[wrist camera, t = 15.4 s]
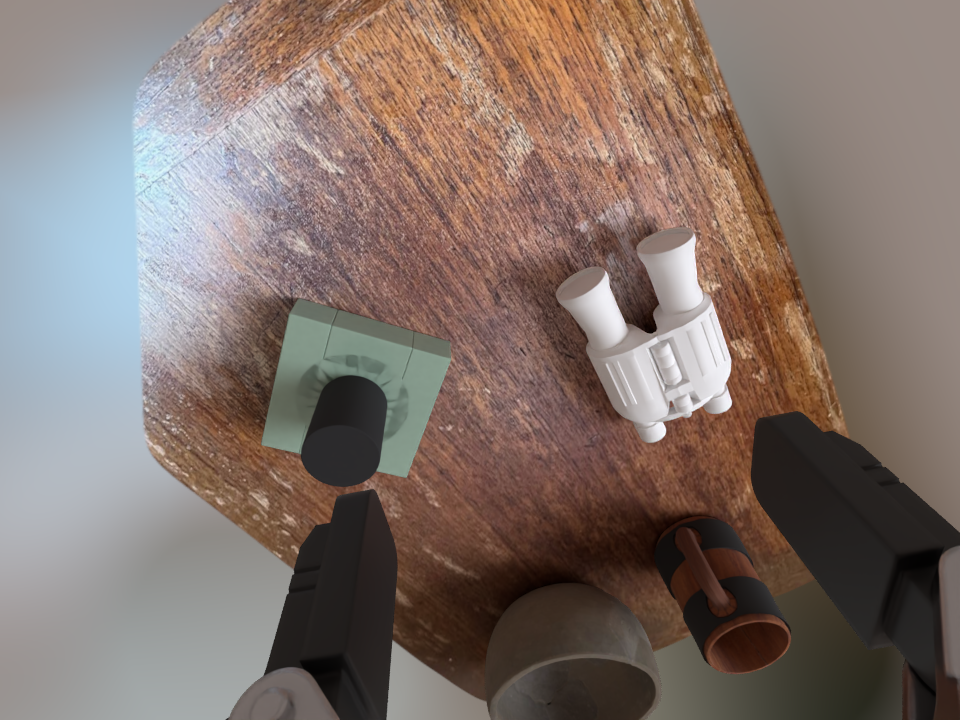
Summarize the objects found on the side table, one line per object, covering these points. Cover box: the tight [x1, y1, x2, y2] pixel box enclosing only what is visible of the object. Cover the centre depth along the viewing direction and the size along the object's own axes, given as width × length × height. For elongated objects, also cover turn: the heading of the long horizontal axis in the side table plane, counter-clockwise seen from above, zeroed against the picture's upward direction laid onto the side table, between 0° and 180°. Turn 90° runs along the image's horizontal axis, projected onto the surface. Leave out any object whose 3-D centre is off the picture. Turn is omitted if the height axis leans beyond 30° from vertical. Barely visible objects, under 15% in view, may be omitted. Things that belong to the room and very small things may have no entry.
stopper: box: [301, 375, 388, 487], centre depth 40 cm, size 5×5×9 cm
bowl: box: [485, 583, 662, 720], centre depth 56 cm, size 17×18×10 cm
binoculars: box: [556, 227, 732, 443], centre depth 42 cm, size 10×16×5 cm, turn 27°
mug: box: [654, 516, 791, 674], centre depth 50 cm, size 9×12×12 cm
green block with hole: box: [261, 298, 451, 478], centre depth 43 cm, size 12×12×3 cm
